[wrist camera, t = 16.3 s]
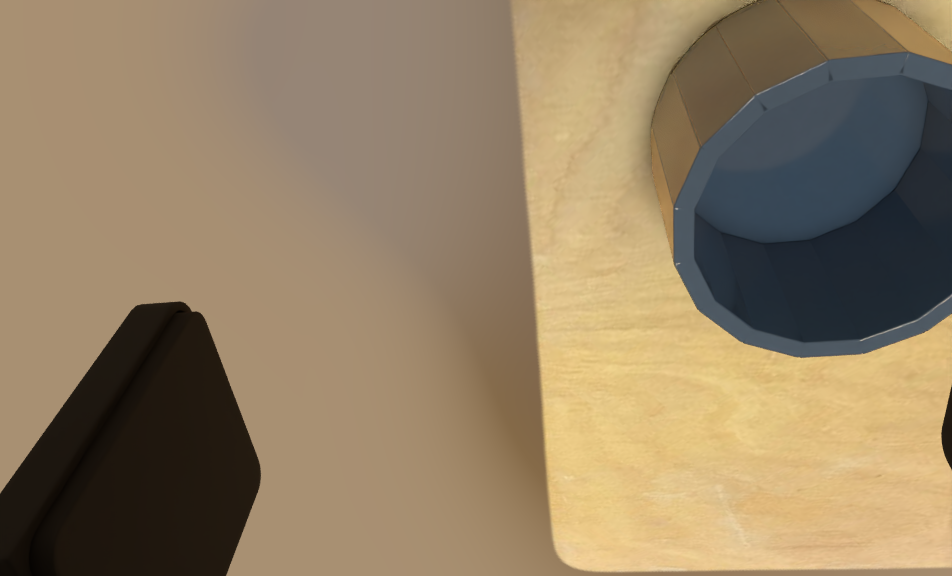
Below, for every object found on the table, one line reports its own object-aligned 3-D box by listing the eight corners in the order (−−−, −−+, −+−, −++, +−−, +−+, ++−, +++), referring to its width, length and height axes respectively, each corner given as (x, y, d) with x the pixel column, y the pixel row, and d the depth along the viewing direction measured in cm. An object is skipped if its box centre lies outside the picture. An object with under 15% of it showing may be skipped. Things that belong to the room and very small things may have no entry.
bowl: (652, 259, 42) (674, 366, 35) (647, 7, 35) (672, 75, 28) (917, 240, 41) (995, 347, 34) (964, -29, 34) (1075, 34, 27)
